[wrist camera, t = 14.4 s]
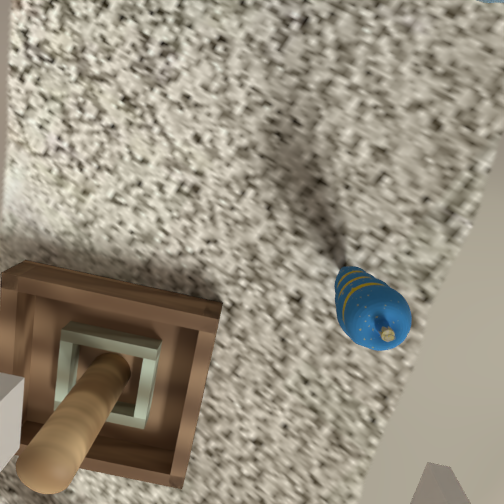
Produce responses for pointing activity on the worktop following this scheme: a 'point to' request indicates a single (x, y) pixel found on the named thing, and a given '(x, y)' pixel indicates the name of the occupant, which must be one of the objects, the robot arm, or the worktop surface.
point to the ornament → (370, 310)
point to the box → (118, 342)
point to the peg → (73, 426)
